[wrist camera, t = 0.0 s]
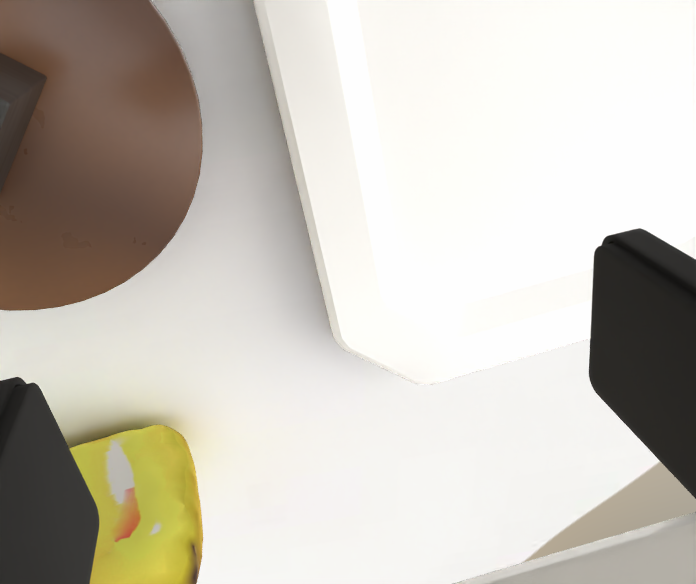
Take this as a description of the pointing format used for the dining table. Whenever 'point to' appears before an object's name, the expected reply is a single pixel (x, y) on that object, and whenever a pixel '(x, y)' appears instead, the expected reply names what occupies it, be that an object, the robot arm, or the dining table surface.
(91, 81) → the turntable
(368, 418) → the dining table surface
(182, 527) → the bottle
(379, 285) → the plate
